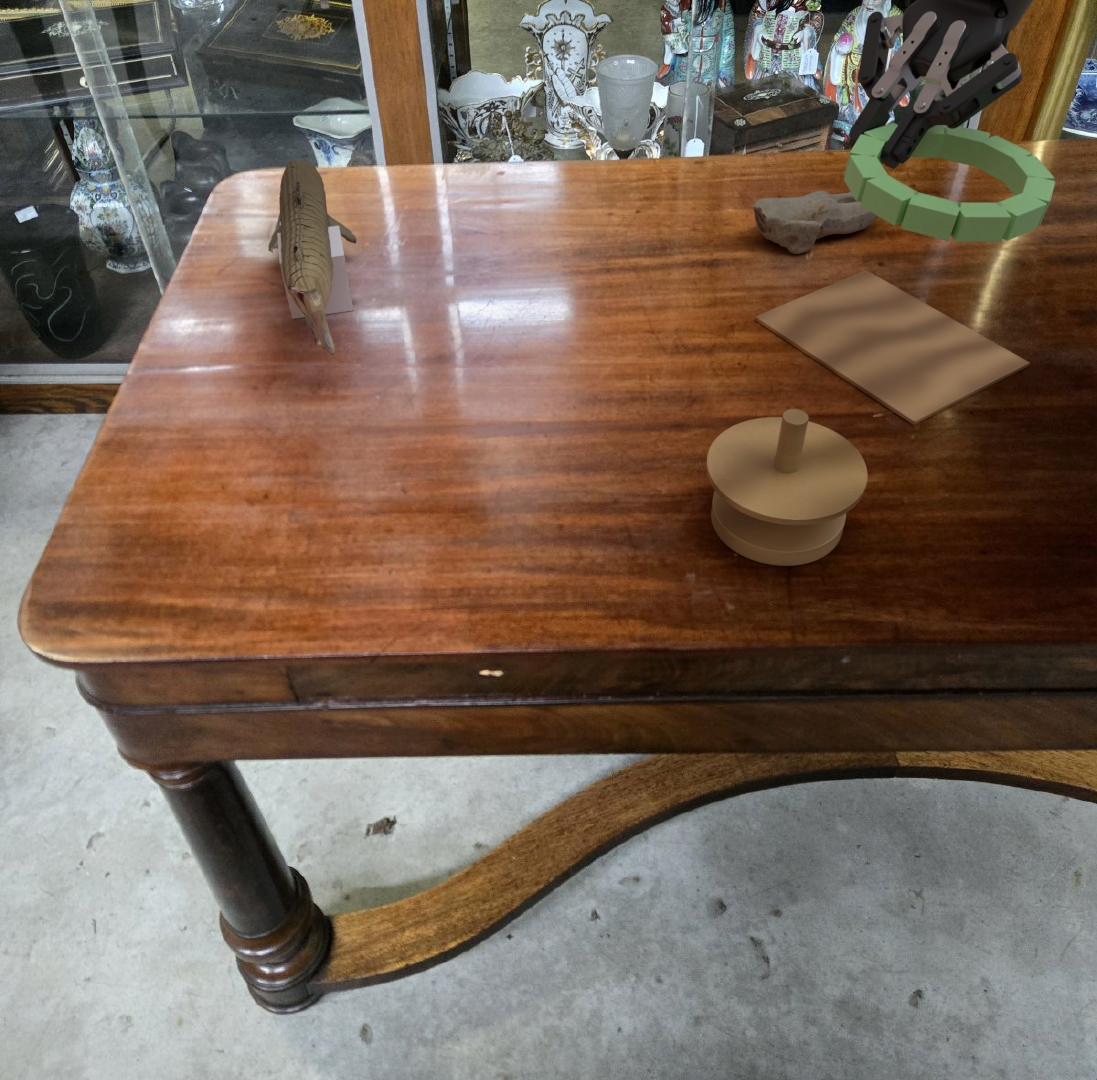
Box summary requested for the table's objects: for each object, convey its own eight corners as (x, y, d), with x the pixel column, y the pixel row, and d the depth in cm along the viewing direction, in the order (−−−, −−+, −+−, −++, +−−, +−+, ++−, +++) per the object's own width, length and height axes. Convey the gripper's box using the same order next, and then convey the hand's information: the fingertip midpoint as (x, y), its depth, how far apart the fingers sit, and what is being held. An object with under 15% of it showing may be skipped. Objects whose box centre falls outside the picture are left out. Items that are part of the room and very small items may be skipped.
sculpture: (845, 211, 117) (733, 230, 112) (858, 171, 113) (742, 188, 108) (884, 243, 112) (769, 264, 107) (899, 201, 109) (780, 221, 104)
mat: (1028, 366, 94) (1030, 362, 93) (913, 425, 88) (914, 421, 88) (865, 273, 106) (865, 269, 105) (754, 319, 100) (754, 316, 100)
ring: (1083, 209, 78) (1095, 184, 76) (955, 263, 71) (965, 236, 70) (933, 130, 85) (940, 106, 84) (806, 173, 79) (812, 148, 78)
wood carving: (284, 423, 90) (256, 311, 82) (270, 231, 114) (248, 131, 106) (387, 408, 91) (369, 296, 83) (352, 221, 115) (336, 121, 107)
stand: (885, 532, 79) (916, 428, 72) (771, 597, 74) (792, 493, 67) (780, 452, 86) (798, 350, 79) (670, 507, 81) (679, 404, 74)
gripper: (915, -103, 78) (784, 105, 82) (1086, -64, 71) (934, 164, 74) (940, -41, 84) (817, 150, 88) (1099, 2, 77) (958, 209, 80)
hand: (871, 155), depth 81 cm, fingers closed on ring, 2 cm apart
